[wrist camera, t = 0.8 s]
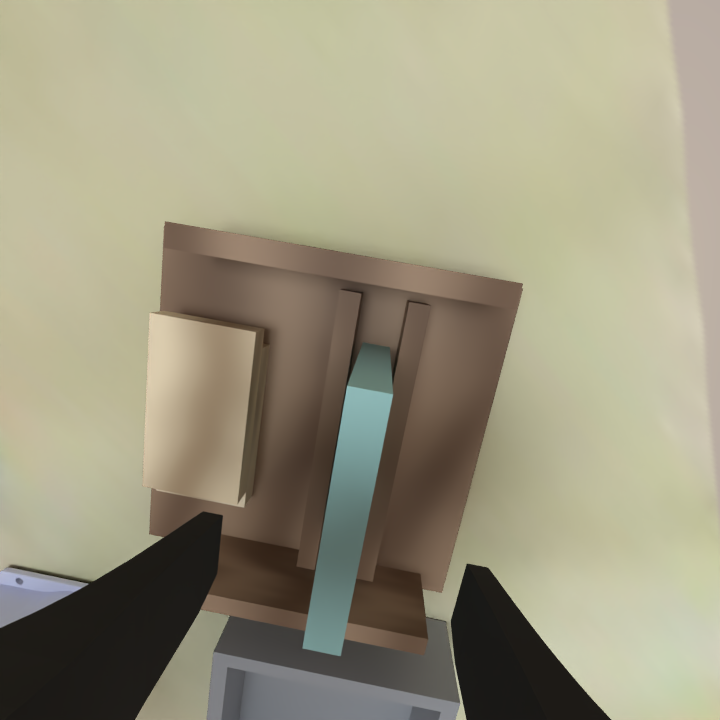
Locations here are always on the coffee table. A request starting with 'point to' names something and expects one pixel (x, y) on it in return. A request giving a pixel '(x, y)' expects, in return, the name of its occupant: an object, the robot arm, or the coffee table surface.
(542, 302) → the coffee table surface
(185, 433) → the offcut upper
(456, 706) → the tote
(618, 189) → the coffee table surface
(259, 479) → the rack
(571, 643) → the coffee table surface
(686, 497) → the coffee table surface
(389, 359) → the sheet
